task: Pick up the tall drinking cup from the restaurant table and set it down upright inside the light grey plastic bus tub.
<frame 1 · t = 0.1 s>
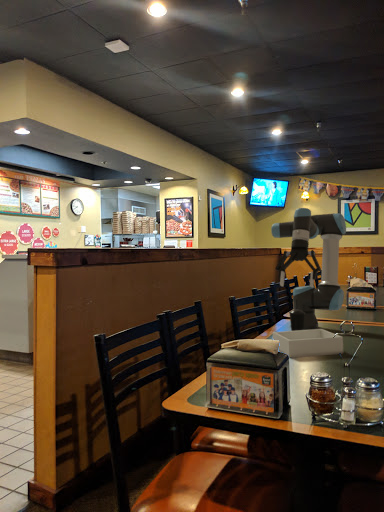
hand: (296, 286, 178), 28 cm above the table, tool tilted 20°, fingers open, 13 cm apart
bus tub: (306, 350, 175), on the table
drinking cup: (297, 340, 195), on the table
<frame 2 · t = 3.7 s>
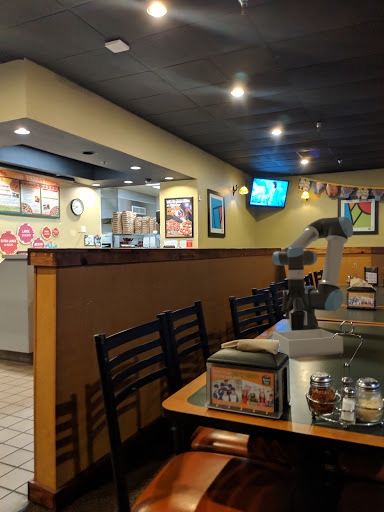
hand: (297, 325, 195), 7 cm above the table, tool pointing down, fingers closed on drinking cup, 7 cm apart
drinking cup: (297, 340, 195), on the table, touching gripper
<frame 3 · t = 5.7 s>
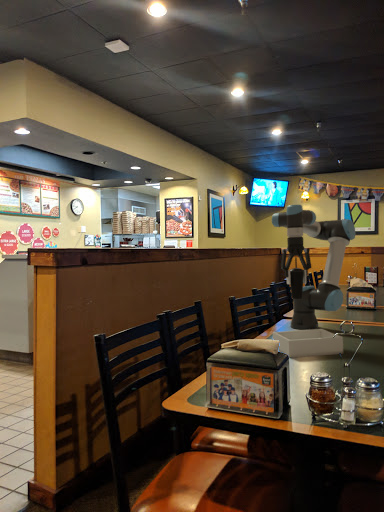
hand: (296, 283, 195), 27 cm above the table, tool pointing down, fingers closed on drinking cup, 7 cm apart
drinking cup: (297, 298, 195), point 20 cm above the table, touching gripper
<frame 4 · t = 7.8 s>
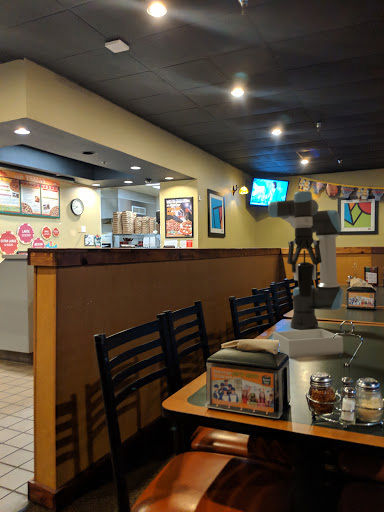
hand: (304, 279, 174), 31 cm above the table, tool pointing down, fingers closed on drinking cup, 7 cm apart
drinking cup: (305, 296, 174), point 24 cm above the table, touching gripper
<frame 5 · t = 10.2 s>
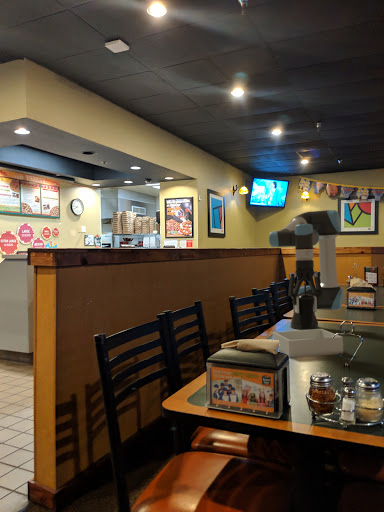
hand: (305, 311, 174), 17 cm above the table, tool pointing down, fingers closed on drinking cup, 7 cm apart
drinking cup: (306, 328, 174), point 10 cm above the table, touching gripper
when the fingers open (10 cm above the table, at t = 12.1 s): drinking cup drops 1 cm, resting on bus tub.
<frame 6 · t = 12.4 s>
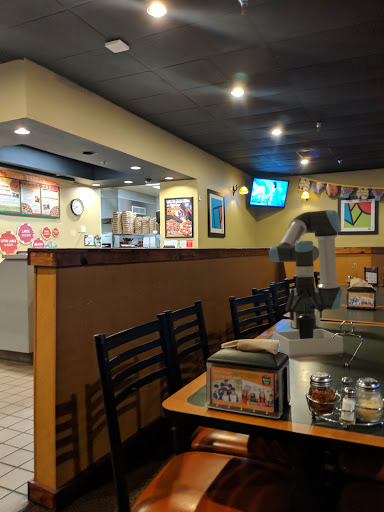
hand: (306, 326, 174), 10 cm above the table, tool pointing down, fingers open, 10 cm apart
drinking cup: (306, 348, 174), point 1 cm above the table, touching bus tub
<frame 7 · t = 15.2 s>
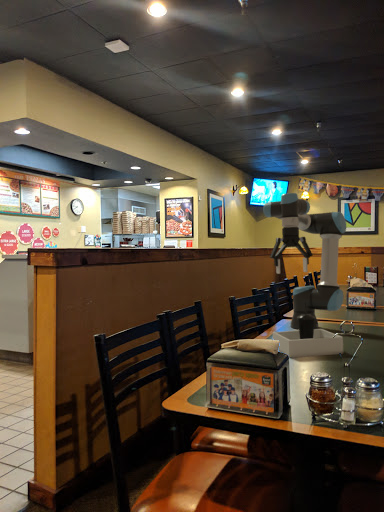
hand: (292, 272, 186), 33 cm above the table, tool pointing down, fingers open, 13 cm apart
nothing on the table moved.
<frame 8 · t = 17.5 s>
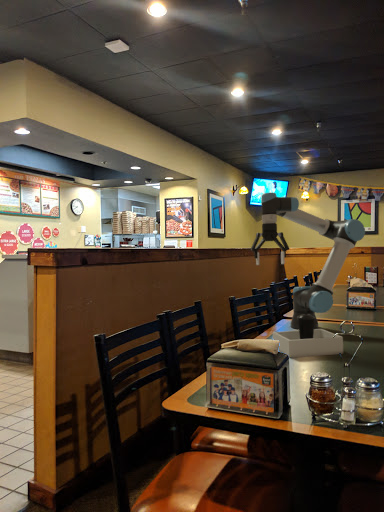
hand: (270, 264, 206), 37 cm above the table, tool pointing down, fingers open, 13 cm apart
nothing on the table moved.
at the end: drinking cup inside the target area on the bus tub (0.1 cm from its centre), point 0.8 cm above the bus tub's base; drinking cup tilted 0°; the gripper is holding nothing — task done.
